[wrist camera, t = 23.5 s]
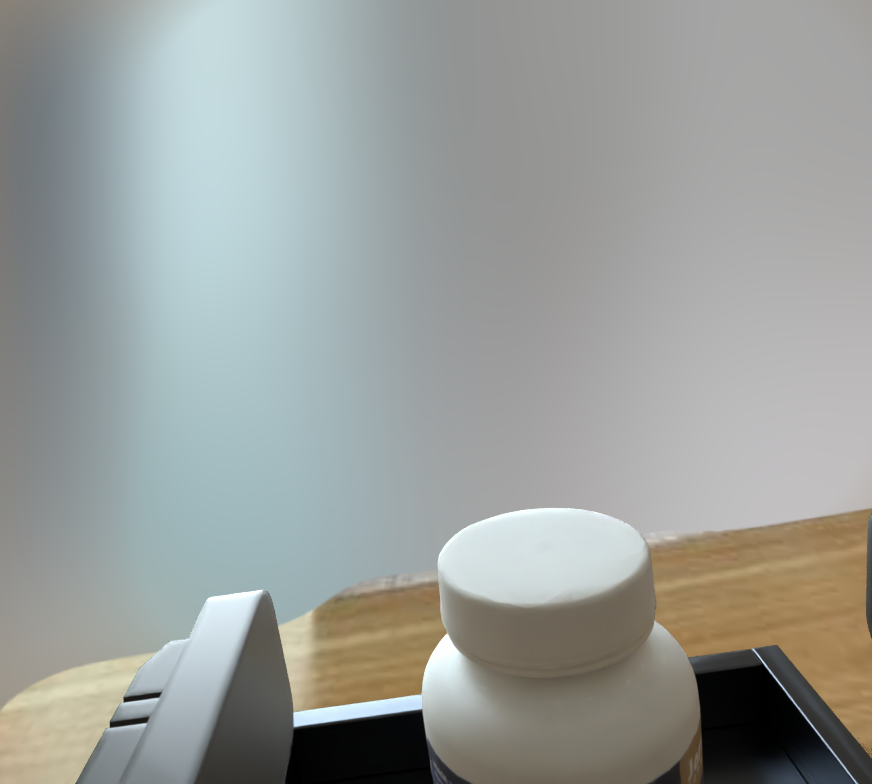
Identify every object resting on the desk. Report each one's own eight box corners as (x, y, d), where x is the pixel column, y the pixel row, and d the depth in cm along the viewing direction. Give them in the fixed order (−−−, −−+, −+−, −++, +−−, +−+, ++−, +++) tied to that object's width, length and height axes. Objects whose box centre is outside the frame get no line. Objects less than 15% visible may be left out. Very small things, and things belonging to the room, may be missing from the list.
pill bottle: (762, 1062, 14) (749, 599, 12) (479, 1116, 14) (406, 655, 12) (657, 831, 19) (634, 477, 17) (451, 868, 19) (396, 514, 17)
